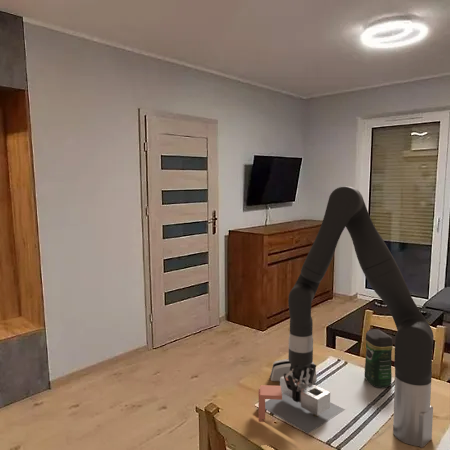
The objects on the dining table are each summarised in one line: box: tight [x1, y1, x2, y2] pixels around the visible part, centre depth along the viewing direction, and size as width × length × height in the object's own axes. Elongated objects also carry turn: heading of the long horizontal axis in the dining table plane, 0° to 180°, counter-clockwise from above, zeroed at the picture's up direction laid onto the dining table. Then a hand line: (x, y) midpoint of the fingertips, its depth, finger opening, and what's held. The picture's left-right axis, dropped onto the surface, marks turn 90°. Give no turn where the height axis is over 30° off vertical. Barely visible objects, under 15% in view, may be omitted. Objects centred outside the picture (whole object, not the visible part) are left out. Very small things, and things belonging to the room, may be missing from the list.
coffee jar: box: [363, 328, 394, 388], centre depth 143 cm, size 10×8×19 cm
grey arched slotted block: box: [269, 358, 318, 382], centre depth 145 cm, size 17×5×10 cm, turn 88°
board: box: [265, 393, 346, 434], centre depth 127 cm, size 20×18×1 cm
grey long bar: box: [279, 376, 331, 416], centre depth 126 cm, size 16×6×5 cm, turn 40°
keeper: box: [258, 384, 282, 423], centre depth 123 cm, size 7×6×8 cm
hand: (299, 398), depth 127 cm, fingers closed on grey long bar, 3 cm apart
